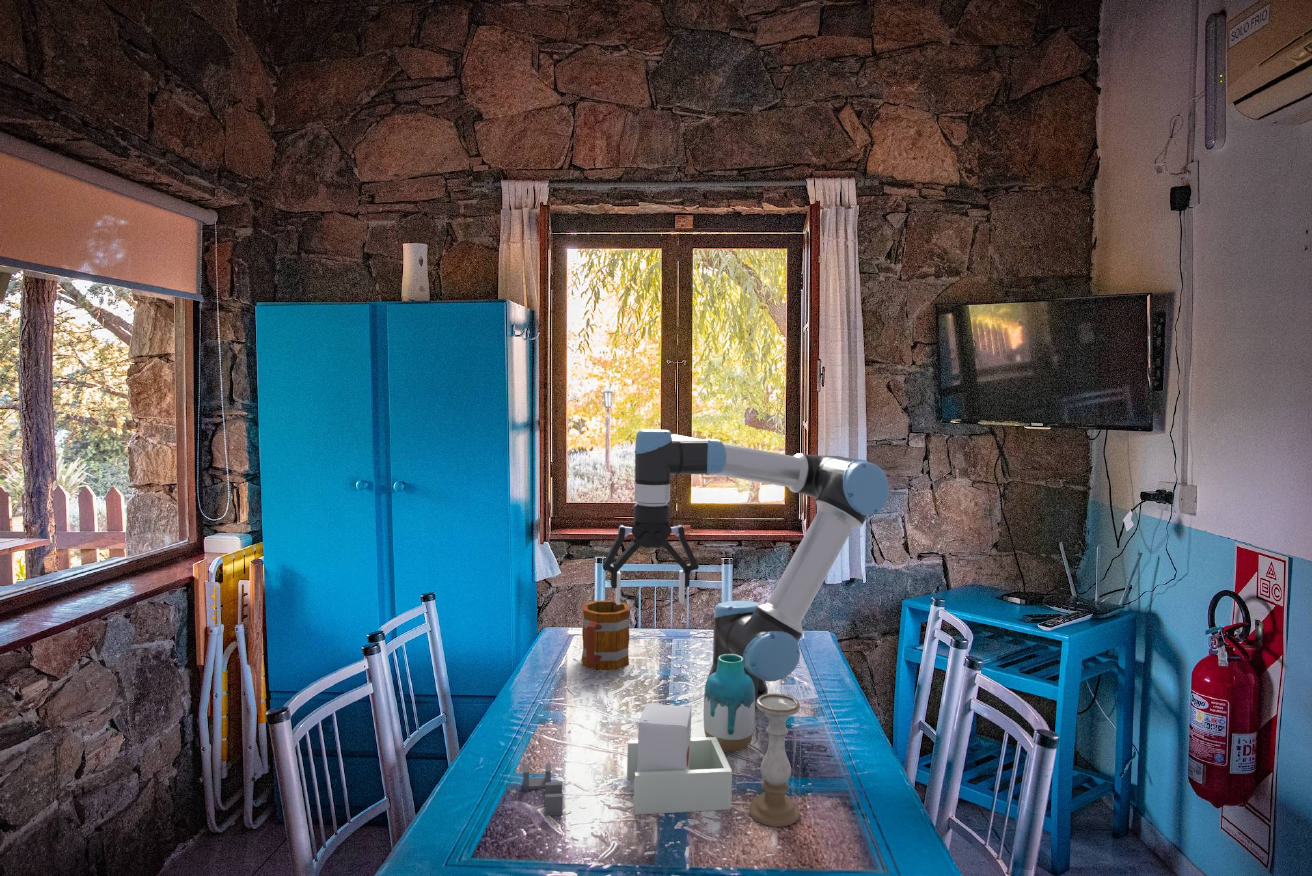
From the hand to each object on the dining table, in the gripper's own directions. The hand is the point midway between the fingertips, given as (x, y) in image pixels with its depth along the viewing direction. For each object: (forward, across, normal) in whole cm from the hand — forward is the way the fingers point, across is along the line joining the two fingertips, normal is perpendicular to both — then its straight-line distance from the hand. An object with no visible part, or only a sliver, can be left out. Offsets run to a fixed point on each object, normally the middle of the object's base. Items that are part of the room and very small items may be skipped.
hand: (649, 602), depth 164 cm
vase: (+29, -16, +8) cm, 34 cm away
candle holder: (+29, -18, +33) cm, 47 cm away
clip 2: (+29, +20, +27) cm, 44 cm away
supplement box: (+29, 0, +24) cm, 38 cm away
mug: (+29, +7, -41) cm, 51 cm away
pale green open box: (+29, -3, +24) cm, 38 cm away
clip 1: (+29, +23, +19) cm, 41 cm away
